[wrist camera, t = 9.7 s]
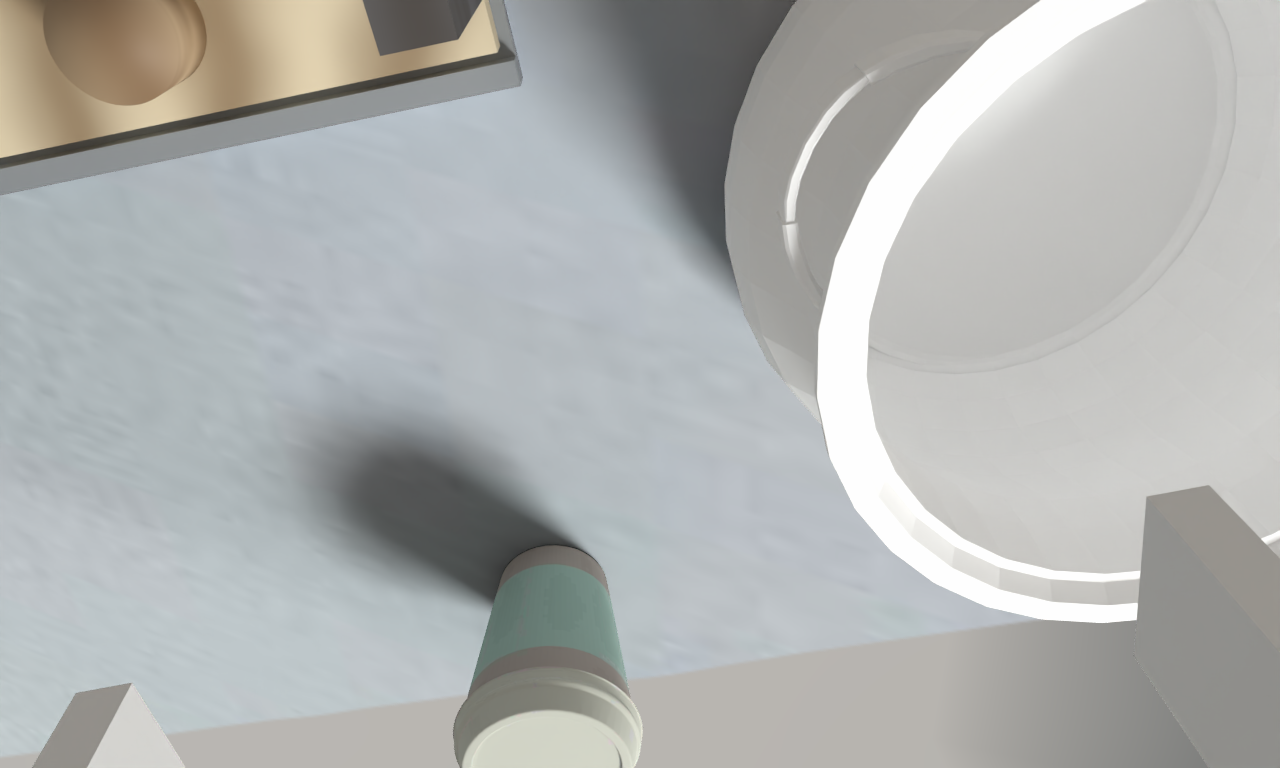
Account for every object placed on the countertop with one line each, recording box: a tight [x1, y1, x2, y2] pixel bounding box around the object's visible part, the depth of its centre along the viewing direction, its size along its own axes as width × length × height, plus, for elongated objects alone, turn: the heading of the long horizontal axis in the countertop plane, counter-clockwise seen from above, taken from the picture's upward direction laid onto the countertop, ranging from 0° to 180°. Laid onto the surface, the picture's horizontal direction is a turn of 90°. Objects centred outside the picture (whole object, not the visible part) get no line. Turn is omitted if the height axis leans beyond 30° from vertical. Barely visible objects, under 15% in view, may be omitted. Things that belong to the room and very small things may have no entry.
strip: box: [0, 0, 500, 158], centre depth 33 cm, size 21×7×10 cm, turn 101°
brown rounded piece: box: [43, 0, 207, 106], centre depth 35 cm, size 4×4×3 cm
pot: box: [724, 0, 1280, 623], centre depth 35 cm, size 26×24×17 cm
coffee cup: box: [453, 545, 643, 768], centre depth 48 cm, size 8×8×12 cm
